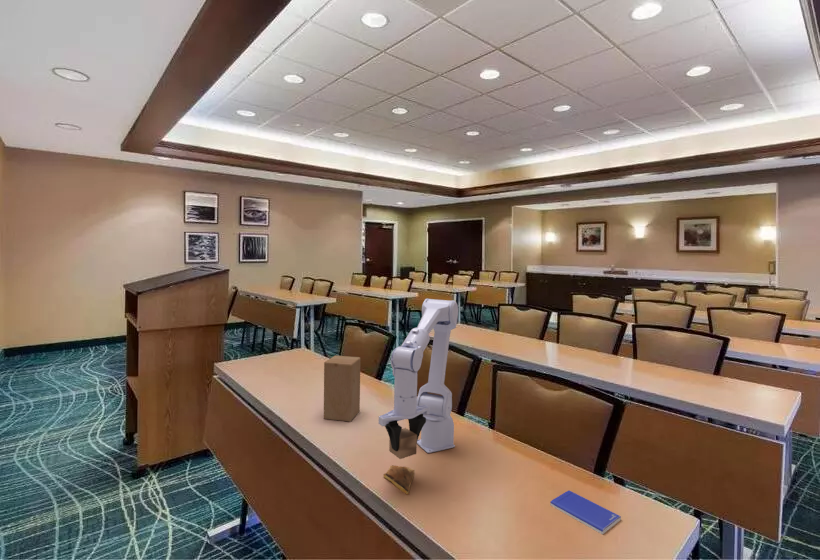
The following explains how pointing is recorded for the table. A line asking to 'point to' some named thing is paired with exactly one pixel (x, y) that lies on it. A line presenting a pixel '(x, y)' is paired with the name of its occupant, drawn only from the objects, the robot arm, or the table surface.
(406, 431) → the walnut cube
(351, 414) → the wooden block
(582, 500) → the hard drive
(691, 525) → the table surface
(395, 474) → the shard
